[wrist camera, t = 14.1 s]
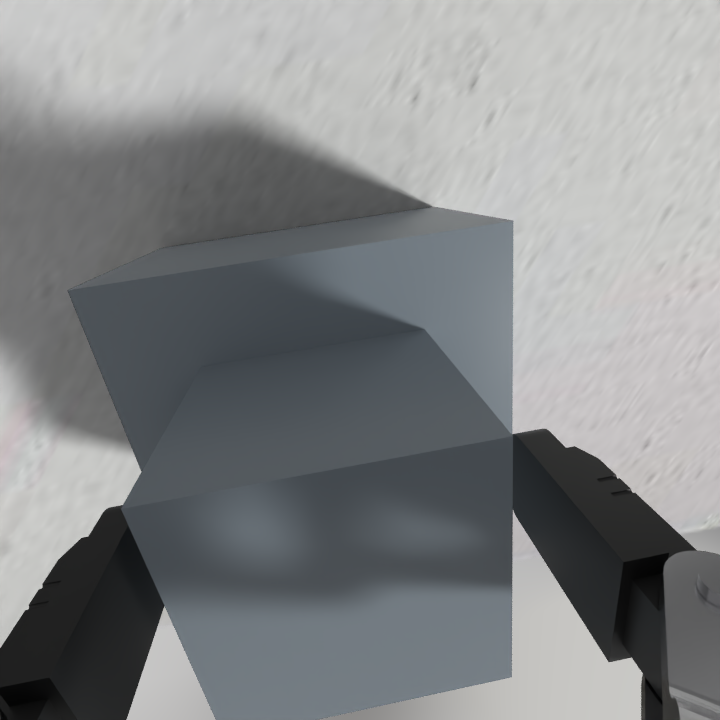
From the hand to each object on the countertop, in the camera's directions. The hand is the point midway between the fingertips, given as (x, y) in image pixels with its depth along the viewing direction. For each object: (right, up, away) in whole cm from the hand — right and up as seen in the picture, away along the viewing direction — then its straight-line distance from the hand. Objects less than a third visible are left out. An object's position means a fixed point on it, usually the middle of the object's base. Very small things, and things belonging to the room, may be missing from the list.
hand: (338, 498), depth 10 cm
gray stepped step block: (-1, +3, +8) cm, 9 cm away
